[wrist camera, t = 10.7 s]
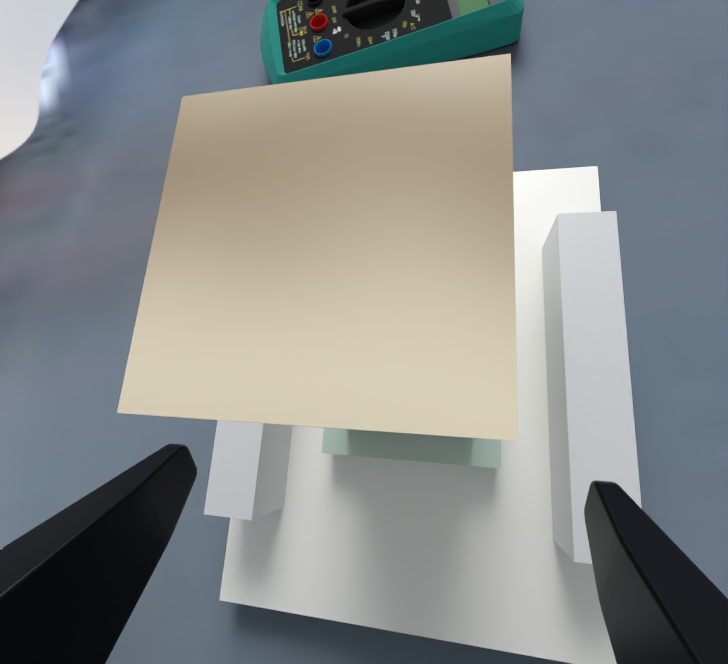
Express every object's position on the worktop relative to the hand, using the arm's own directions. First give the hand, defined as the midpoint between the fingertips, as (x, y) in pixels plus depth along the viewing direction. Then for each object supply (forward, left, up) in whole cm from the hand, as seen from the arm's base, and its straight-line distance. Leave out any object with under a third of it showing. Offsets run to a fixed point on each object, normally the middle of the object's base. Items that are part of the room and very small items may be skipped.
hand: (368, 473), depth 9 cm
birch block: (+3, -1, -7) cm, 8 cm away
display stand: (+3, -1, -10) cm, 11 cm away
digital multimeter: (+24, -8, -11) cm, 27 cm away
